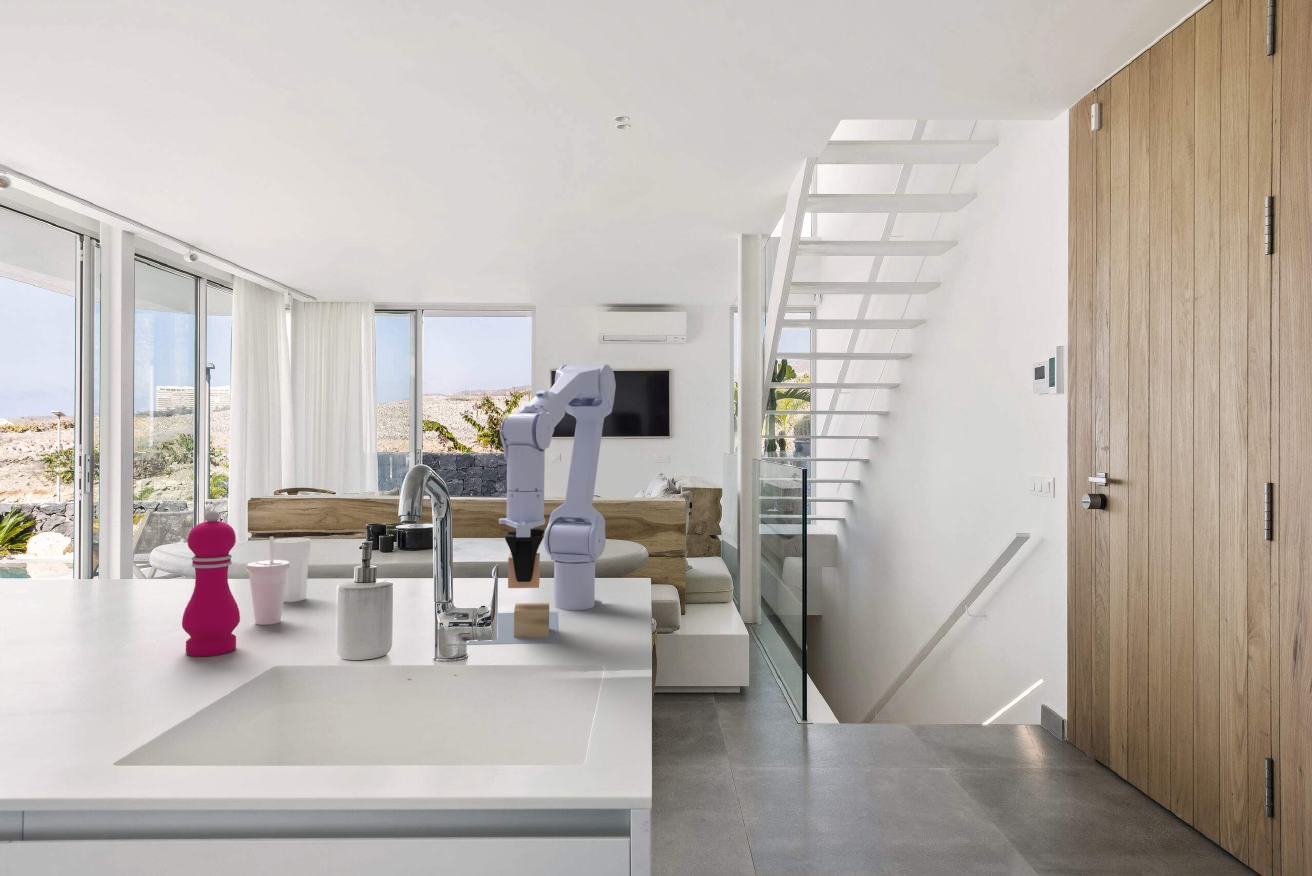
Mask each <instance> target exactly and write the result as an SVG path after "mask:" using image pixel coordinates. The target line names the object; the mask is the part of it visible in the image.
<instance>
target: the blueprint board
mask: <svg viewBox="0 0 1312 876" xmlns="http://www.w3.org/2000/svg"><path fill="white" fill-rule="evenodd" d="M497 613H498V638H497V639H496V640H492V641H469V642H468V643H467V645H466V646H475V645H476V646H480V645H481V646H483V645H518V644H519V645H522V644H523V645H527V644H528V645H529V644H531V645H532V644H559V642H560V641H559V620H558V619H559V618H558V616H559V615H558V611H549V637H519V638H514V612H497Z"/></svg>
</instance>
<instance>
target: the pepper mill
mask: <svg viewBox="0 0 1312 876" xmlns="http://www.w3.org/2000/svg"><path fill="white" fill-rule="evenodd" d="M219 518H220V514H219V512H218V511H217V510H213V509H212V510H210V509H209V510H208V511H207V512H206V513H205V514H204V519H205V521H203V522H200V523H198V524H196V525H195V526H194V527H193V528H192V529H190V531H189V534H188V537H187V546H188V548H189V550H190V551H191V552H192V553H193V556H192V557H191V561H192V563H191V564H190V565H191V568H194V571H195V572H194V574H195V581H194V589H193V591H192V593H191V597H190V599H189V601H188V602H187V604H186V606H185V608H184V612H183V615H182V619H181V626H182V629H183V631H184V632H186V634H188V635H189V638H188V639H186V641H185V654H186V655H188V656H191V657H202V658H203V657H212V656H213V657H214V656H220V655H224V654H228V653H230V652H233V651H234V650H235V649H236V648H237V636H236V634H234V633H233V631H234V630H235V629H236V628H237V627H238V625H239V624H240V621H241V614H240V609H239V605H238V603H237V600H235V597H234V595H233V593H232V591H231V589H230V584H229V580H228V579H229V578H228V576H229V574H228V571H229V566H231V565H232V563H233V562H232V557H233V555H232V554H231V553H230V552H231V551H232V549H233V548H234V546H235V545H236V542H237V541H236V540H237V538H236V537H237V535H236V533H235V532H236V531H235V530H234V528H233V527H232V526H231V525H230V524H229V523H226V522H223V521H219Z"/></svg>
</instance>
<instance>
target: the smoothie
mask: <svg viewBox="0 0 1312 876" xmlns="http://www.w3.org/2000/svg"><path fill="white" fill-rule="evenodd" d="M274 540H275V539H274V536H269V560H268V559H267V560H258V561H252V562H248V563H247V564H246V571H247V572H248V576H249V582H250V583H249V585H250V591H251V599H252V607H253V616H254V623H255V624H256V625H259V626H267V625H268V626H270V625H275V624H279V623H281V620H282V615H283V613H282V612H283V606H284V602H283V600H284V592H285V585H286V578H287V571H288V569H289V568H290V562H288V561H284V560H273V544H274Z"/></svg>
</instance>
